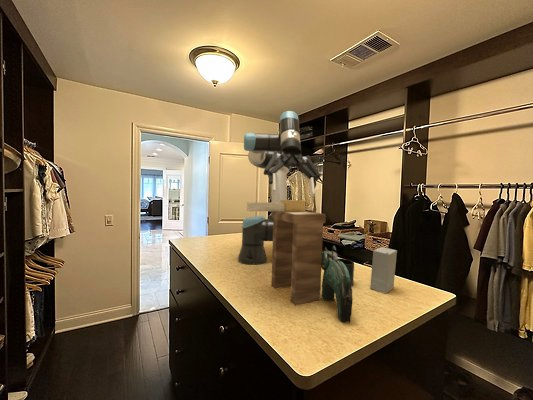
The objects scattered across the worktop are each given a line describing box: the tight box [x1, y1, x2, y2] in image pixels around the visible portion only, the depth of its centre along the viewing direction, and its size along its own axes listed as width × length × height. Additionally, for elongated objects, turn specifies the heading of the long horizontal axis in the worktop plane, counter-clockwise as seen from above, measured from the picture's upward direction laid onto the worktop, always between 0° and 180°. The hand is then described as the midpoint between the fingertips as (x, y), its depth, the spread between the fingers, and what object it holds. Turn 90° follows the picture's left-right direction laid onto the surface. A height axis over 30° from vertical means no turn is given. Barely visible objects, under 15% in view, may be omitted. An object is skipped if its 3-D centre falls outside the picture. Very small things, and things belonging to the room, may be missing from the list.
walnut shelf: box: [270, 210, 327, 306], centre depth 93 cm, size 18×12×30 cm, turn 25°
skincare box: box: [370, 246, 398, 294], centre depth 100 cm, size 8×7×16 cm
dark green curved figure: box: [321, 245, 354, 323], centre depth 82 cm, size 20×6×20 cm, turn 4°
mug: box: [338, 257, 355, 286], centre depth 105 cm, size 9×12×9 cm
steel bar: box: [246, 199, 306, 212], centre depth 94 cm, size 5×22×4 cm, turn 115°
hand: (293, 193), depth 86 cm, fingers open, 13 cm apart
